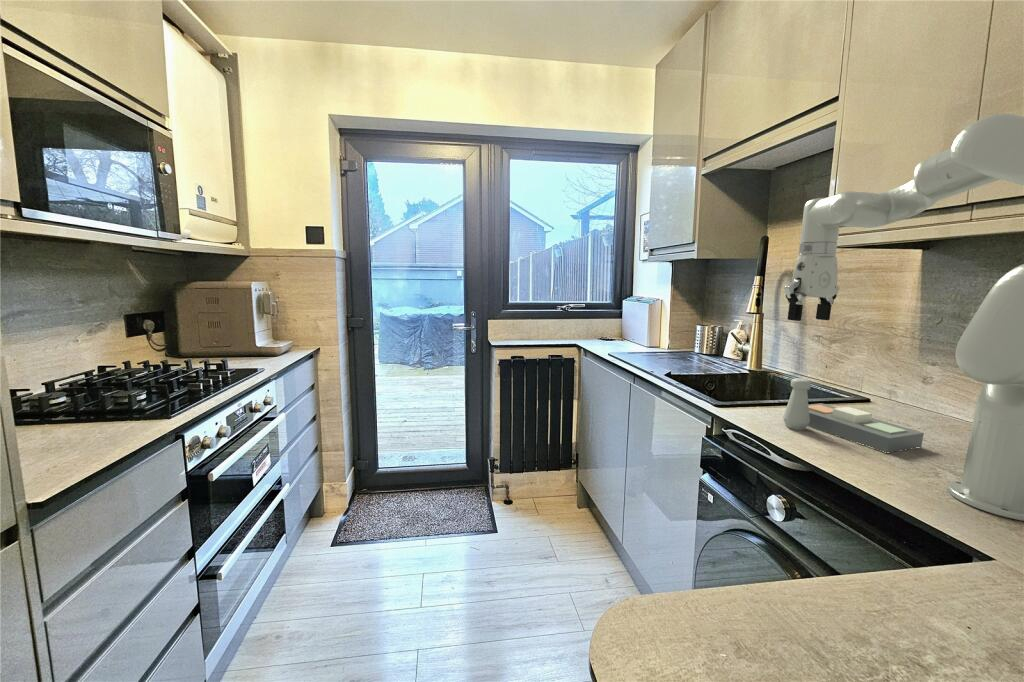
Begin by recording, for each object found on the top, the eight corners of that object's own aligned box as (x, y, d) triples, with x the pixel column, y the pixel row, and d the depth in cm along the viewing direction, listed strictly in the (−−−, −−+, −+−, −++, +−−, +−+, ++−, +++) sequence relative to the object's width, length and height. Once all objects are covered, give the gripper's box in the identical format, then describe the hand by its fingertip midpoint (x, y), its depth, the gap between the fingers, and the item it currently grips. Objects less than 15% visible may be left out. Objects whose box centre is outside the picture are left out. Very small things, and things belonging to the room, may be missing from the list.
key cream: (869, 427, 107) (871, 413, 106) (854, 429, 105) (856, 415, 105) (846, 420, 112) (848, 406, 112) (831, 422, 111) (833, 408, 110)
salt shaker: (807, 433, 108) (814, 383, 106) (781, 428, 111) (786, 379, 109) (809, 427, 112) (815, 379, 110) (783, 422, 116) (789, 375, 114)
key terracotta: (838, 423, 114) (840, 410, 114) (823, 425, 113) (824, 412, 112) (817, 417, 120) (819, 404, 119) (802, 418, 118) (804, 406, 117)
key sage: (903, 444, 100) (906, 430, 100) (887, 447, 99) (890, 432, 98) (877, 436, 106) (879, 422, 105) (861, 438, 104) (863, 424, 103)
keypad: (921, 447, 100) (923, 433, 99) (886, 453, 96) (889, 438, 95) (819, 415, 122) (821, 403, 122) (788, 418, 118) (790, 406, 118)
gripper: (806, 248, 99) (797, 322, 101) (858, 251, 104) (848, 321, 107) (777, 250, 106) (769, 319, 108) (827, 252, 111) (818, 318, 114)
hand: (808, 320), depth 108 cm, fingers open, 9 cm apart
